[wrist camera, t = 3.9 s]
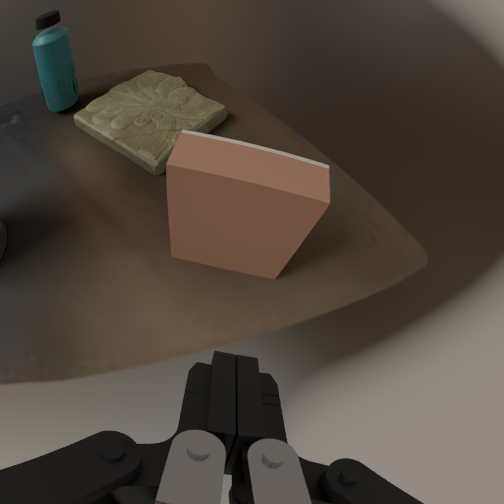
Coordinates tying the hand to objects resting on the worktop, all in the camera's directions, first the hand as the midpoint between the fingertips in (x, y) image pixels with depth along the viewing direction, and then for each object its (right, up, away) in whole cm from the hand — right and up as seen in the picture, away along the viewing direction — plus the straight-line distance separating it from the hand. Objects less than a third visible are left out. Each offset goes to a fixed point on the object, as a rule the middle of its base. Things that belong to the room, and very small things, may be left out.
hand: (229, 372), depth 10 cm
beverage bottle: (-33, +30, +31) cm, 54 cm away
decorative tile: (-15, +26, +33) cm, 45 cm away
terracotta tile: (-2, +4, +24) cm, 25 cm away
